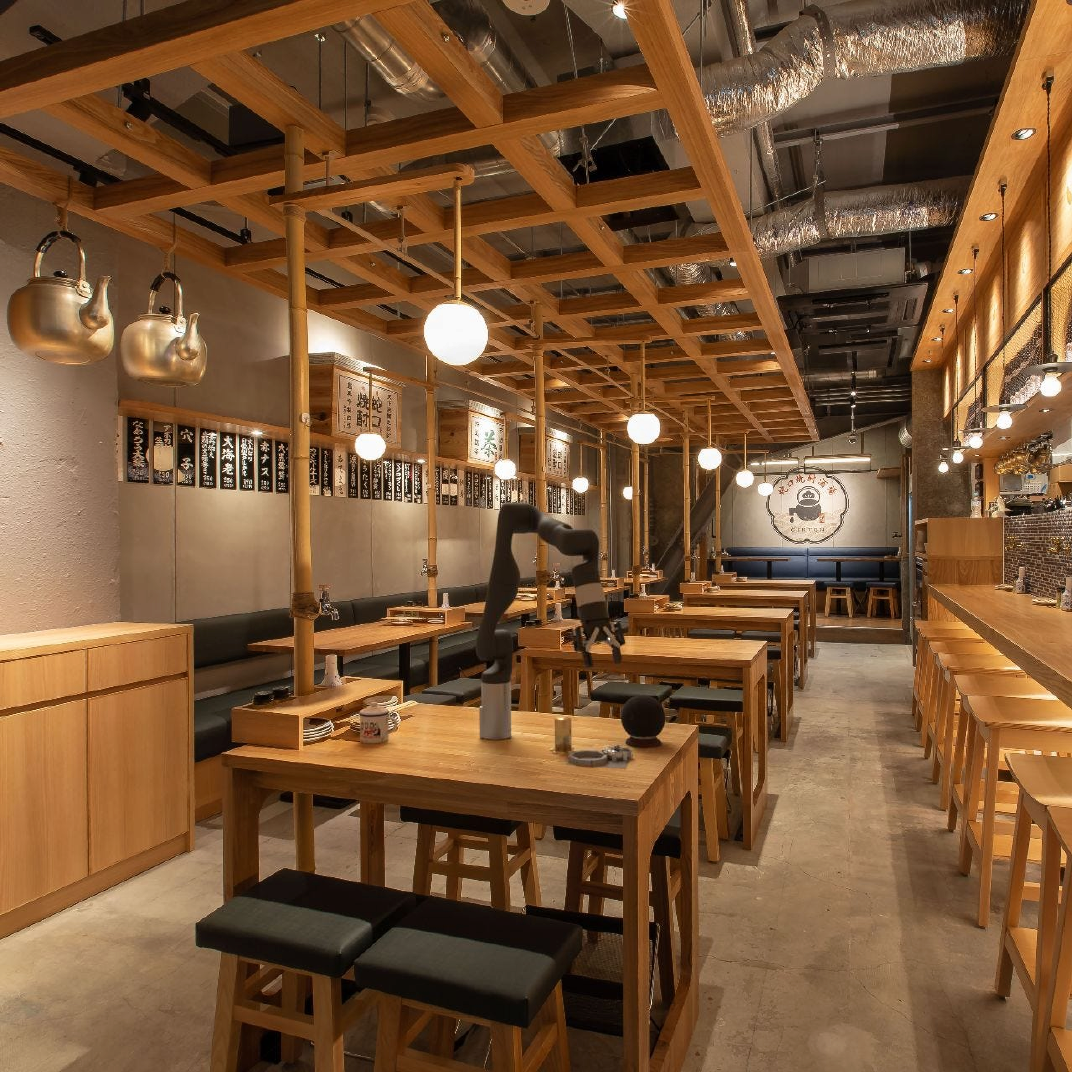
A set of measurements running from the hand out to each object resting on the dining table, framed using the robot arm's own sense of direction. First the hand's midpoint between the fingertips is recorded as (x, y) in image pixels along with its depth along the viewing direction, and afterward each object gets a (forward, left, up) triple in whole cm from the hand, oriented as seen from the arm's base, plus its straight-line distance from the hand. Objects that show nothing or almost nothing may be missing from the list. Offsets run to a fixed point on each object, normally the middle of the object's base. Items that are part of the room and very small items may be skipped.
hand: (604, 665), depth 194 cm
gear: (0, +19, -28) cm, 34 cm away
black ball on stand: (+5, +36, -29) cm, 47 cm away
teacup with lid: (-75, +23, -29) cm, 84 cm away
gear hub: (-16, +22, -29) cm, 40 cm away
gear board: (-4, +16, -29) cm, 34 cm away
